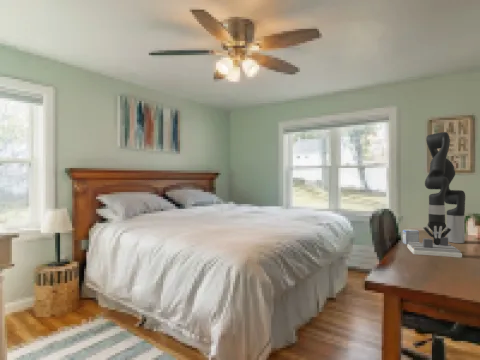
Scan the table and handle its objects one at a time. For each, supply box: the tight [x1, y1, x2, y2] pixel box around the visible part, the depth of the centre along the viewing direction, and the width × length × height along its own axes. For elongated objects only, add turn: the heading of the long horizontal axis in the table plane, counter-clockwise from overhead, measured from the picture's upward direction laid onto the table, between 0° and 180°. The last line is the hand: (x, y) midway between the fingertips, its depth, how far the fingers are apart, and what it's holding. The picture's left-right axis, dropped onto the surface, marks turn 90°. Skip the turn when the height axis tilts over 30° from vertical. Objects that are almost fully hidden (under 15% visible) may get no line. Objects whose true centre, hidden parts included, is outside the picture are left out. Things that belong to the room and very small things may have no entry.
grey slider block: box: [422, 237, 434, 248], centre depth 158 cm, size 3×4×6 cm
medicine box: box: [402, 229, 420, 245], centre depth 181 cm, size 8×4×9 cm, turn 84°
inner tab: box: [439, 236, 449, 246], centre depth 162 cm, size 3×4×6 cm
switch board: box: [406, 241, 463, 258], centre depth 160 cm, size 16×22×4 cm
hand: (436, 244), depth 156 cm, fingers closed
